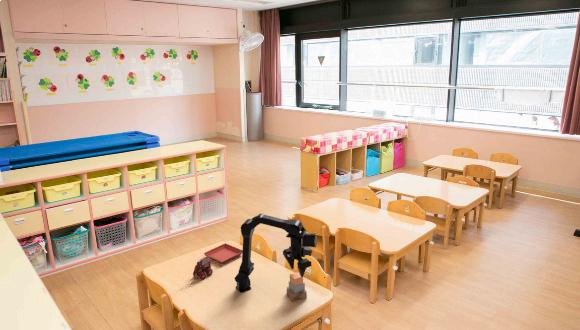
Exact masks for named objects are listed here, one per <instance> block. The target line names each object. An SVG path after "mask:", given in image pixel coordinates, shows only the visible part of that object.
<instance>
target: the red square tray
mask: <svg viewBox="0 0 580 330" xmlns="http://www.w3.org/2000/svg"><path fill="white" fill-rule="evenodd" d="M242 251H243V249H240V248H238V247H236V246H234V245H231V244H230V243H229V244H228V243H223V244H220V245H219V246H216V247H214V248H212V249H210V250H208V251H205V252H204V253H203V254H204V256H205V257H207V256H210V257H211V260H212V261H215V262H217V263H219V264H221V265H224V264H226V263H228V262H230V261H232V260H234V259H236V258H238V257H240V256H241V255H242Z"/></svg>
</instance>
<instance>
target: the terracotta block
mask: <svg viewBox="0 0 580 330" xmlns="http://www.w3.org/2000/svg"><path fill="white" fill-rule="evenodd" d="M289 281H290V282H291V283H292V284H293V285H294V286H297V285H300V284H303V282H304V276H303V277H301V276H300V273H299V271H297V272H294V273H292V274H289Z"/></svg>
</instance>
